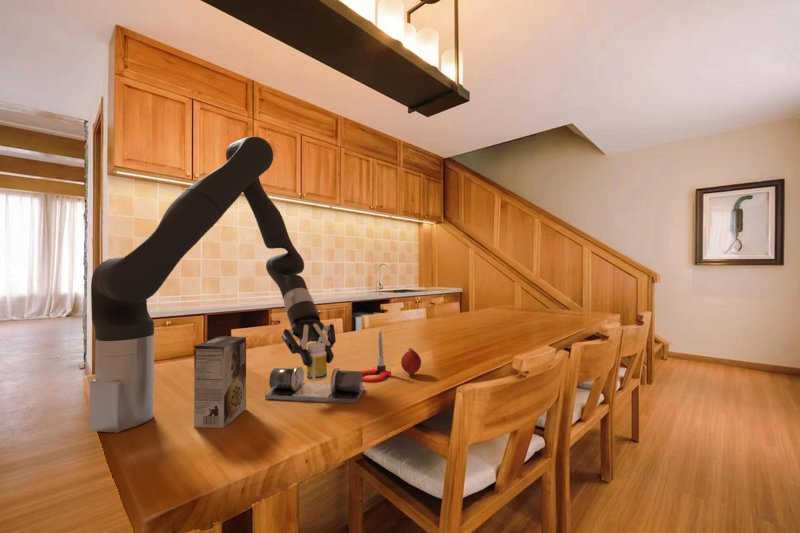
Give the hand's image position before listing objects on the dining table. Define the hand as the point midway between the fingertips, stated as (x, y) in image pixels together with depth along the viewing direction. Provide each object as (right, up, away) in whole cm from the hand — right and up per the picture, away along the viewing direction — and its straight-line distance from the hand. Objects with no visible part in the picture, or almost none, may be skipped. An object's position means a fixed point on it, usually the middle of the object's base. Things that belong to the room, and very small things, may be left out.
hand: (320, 363), depth 83 cm
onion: (+23, -8, +17) cm, 29 cm away
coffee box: (-18, -8, -12) cm, 23 cm away
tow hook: (+11, -9, +15) cm, 21 cm away
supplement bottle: (-1, -4, +1) cm, 5 cm away
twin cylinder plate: (-1, -8, +1) cm, 8 cm away
